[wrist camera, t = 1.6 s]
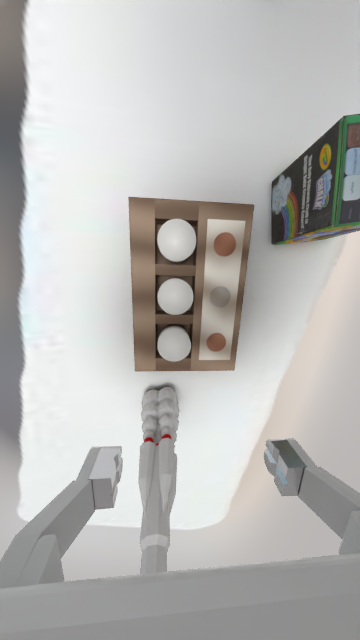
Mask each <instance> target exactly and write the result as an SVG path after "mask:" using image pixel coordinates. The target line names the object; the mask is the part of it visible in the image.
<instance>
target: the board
mask: <svg viewBox="0 0 360 640" xmlns="http://www.w3.org/2000/svg"><path fill="white" fill-rule="evenodd" d="M253 211H254V205H251V204H235V203H219V202H203V201H187V200H171V199H155V198H139V197H129V222H130V249H131V276H132V302H133V329H134V356H135V371H221V370H234V369H235V360H236V352H237V344H238V335H239V327H240V319H241V310H242V302H243V294H244V286H245V277H246V269H247V261H248V252H249V244H250V236H251V227H252V219H253ZM171 219H182V220H184V221H186V222H188V223H189V224H190V225H191V226H192V228H193V229H194V231H195V234H196V246H195V249H194V251H193V253H192V254H191V255H190V256H189V257H188V258H186V259H185V260H183V261H181V262H171V261H169V260H167V259H166V258H164V257H163V255H162V254H161V252H160V250H159V247H158V242H157V237H158V232H159V230H160V228H161V226H162V225H163V224H164V223H165V222H167V221H169V220H171ZM171 278H178V279H181V280H183V281H185V282H186V283H188V284H189V286H190V287H191V289H192V291H193V303H192V305H191V307H190V308H189V309H188V310H187V311H186V312H184V313H182V314H179V315H172V314H168V313H166V312H165V311H164V310H163V309H162V308H161V307H160V305H159V303H158V298H157V295H158V291H159V289H160V287H161V285H162V284H163V283H164V282H165V281H166V280H168V279H171ZM172 324H176V325H180V326H182V327H183V328H184V329H185V330H186V331H187V333H188V336H189V339H190V342H191V350H190V352H189V354H188V355H187V356H186V357H185V358H184V359H182V360H180V361H175V362H173V361H168V360H166V359H164V358H163V357H162V356H161V355H160V354H159V352H158V347H157V346H158V338H159V334H160V332H161V330H162V329H163V328H164V327H166V326H168V325H172Z"/></svg>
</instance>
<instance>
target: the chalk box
mask: <svg viewBox="0 0 360 640" xmlns="http://www.w3.org/2000/svg"><path fill="white" fill-rule="evenodd" d="M356 231H360V114H355V115H347V116H343V117H342V118H341V119H340V120H339V121H338V122H337V123H336V124H335V125H334V126H333V127H331V128H330V129H329V130H328V131H327V132H326V133H325V134H324V135H323V136H322V137H320V138H319V139H318V140H317V141H316V142H315V143H314V144H313V145H312V146H311V147H310V148H308V149H307V150H306V151H305V152H304V153H303V154H302V155H301V156H300V157H299V158H298V159H296V160H295V161H294V162H293V163H292V164H291V165H290V166H289V167H288V168H287V169H286V170H284V171H283V172H282V173H281V174H280V175H279V176H278V177H277V178H276V179H275V180H274V181H273V182H272V244H274V245H277V244H286V243H296V242H305V241H313V240H321V239H327V238H331V237H335V236H339V235H343V234H347V233H351V232H356Z"/></svg>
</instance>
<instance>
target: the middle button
mask: <svg viewBox="0 0 360 640" xmlns="http://www.w3.org/2000/svg"><path fill="white" fill-rule="evenodd" d="M157 298H158V303H159V305H160V307H161V308H162V309H163V310H164V311H165V312H166V313H168V314H172V315H179V314H182V313H184V312H186V311H187V310H188V309H189V308H190V307H191V305H192V303H193V291H192V289H191V287H190V286H189V284H188V283H186V282H185V281H183V280H181V279H178V278H171V279H168V280H166V281H165V282H164V283H163V284H162V285H161V287H160V289H159V291H158V295H157Z"/></svg>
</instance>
